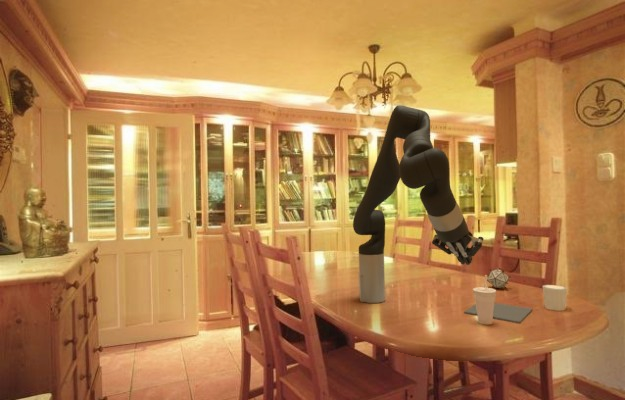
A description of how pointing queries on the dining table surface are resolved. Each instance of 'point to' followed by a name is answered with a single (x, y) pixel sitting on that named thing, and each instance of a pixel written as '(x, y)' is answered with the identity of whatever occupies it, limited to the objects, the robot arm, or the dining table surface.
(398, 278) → the dining table surface
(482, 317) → the smoothie
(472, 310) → the mat
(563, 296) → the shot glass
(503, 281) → the game die
